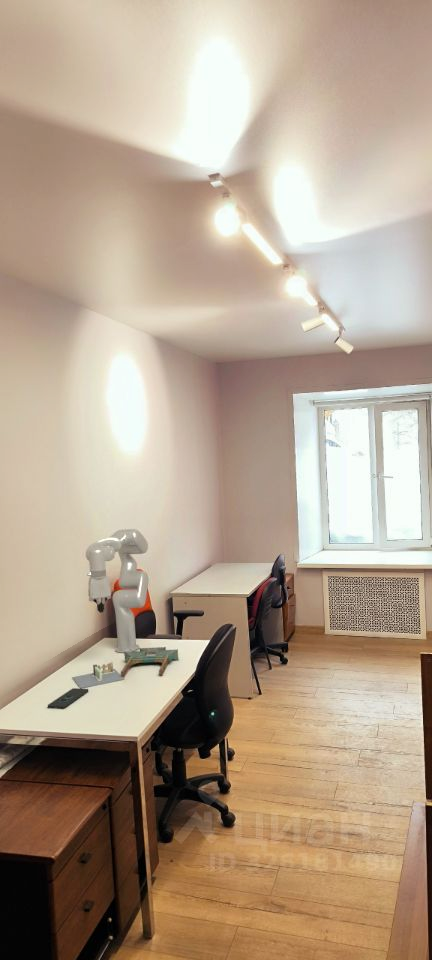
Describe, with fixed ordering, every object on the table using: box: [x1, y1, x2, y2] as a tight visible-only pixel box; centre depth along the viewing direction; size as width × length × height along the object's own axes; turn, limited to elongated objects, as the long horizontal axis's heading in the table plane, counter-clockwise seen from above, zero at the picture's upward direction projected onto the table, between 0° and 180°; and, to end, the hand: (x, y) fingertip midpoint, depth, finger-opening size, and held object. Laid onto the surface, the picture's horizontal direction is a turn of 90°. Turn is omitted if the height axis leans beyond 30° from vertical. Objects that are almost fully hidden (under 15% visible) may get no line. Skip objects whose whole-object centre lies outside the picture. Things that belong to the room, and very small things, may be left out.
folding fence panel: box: [95, 667, 103, 680], centre depth 287 cm, size 8×1×4 cm, turn 26°
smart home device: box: [47, 687, 89, 710], centre depth 263 cm, size 8×2×20 cm
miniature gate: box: [120, 646, 180, 678], centre depth 300 cm, size 27×6×30 cm
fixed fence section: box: [92, 661, 114, 676], centre depth 293 cm, size 9×2×5 cm, turn 114°
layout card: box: [72, 668, 125, 689], centre depth 287 cm, size 17×20×1 cm
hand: (101, 611), depth 303 cm, fingers closed
